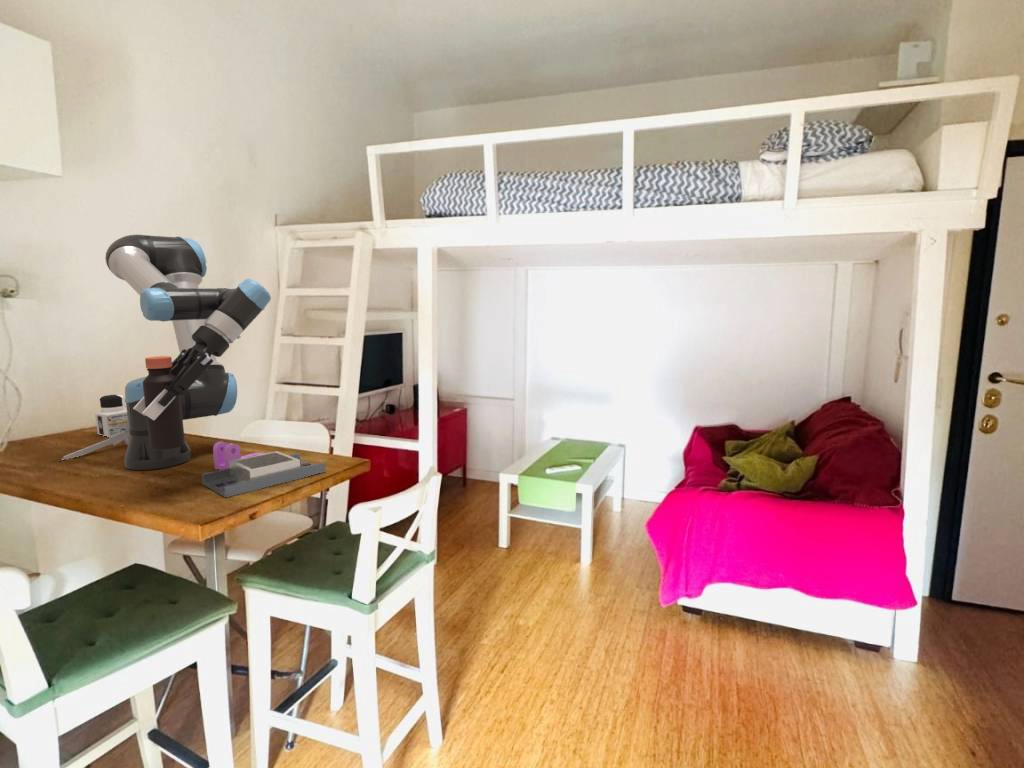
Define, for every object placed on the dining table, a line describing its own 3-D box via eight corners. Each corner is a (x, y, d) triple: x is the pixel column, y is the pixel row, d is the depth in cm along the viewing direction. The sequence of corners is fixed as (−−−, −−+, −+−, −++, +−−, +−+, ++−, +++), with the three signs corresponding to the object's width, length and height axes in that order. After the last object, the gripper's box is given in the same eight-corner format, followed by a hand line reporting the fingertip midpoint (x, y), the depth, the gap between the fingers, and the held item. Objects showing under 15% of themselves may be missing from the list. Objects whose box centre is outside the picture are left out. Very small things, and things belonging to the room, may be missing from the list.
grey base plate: (202, 484, 133) (200, 465, 133) (298, 462, 151) (297, 445, 150) (225, 497, 124) (223, 478, 123) (325, 472, 141) (324, 455, 141)
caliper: (135, 444, 172) (133, 424, 171) (137, 445, 172) (135, 425, 171) (58, 462, 154) (55, 440, 153) (60, 462, 153) (57, 440, 152)
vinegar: (191, 441, 130) (182, 355, 126) (175, 450, 123) (165, 359, 120) (161, 442, 129) (151, 355, 126) (143, 450, 123) (132, 359, 119)
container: (109, 438, 180) (104, 398, 178) (97, 435, 183) (92, 396, 182) (135, 433, 186) (130, 394, 184) (123, 430, 190) (118, 392, 188)
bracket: (228, 472, 143) (226, 445, 142) (214, 469, 145) (212, 443, 144) (271, 459, 154) (269, 434, 153) (257, 456, 157) (255, 432, 156)
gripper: (246, 348, 127) (172, 431, 118) (214, 342, 140) (145, 417, 131) (219, 325, 122) (140, 410, 113) (188, 322, 135) (115, 398, 126)
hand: (143, 414), depth 122 cm, fingers closed on vinegar, 6 cm apart
